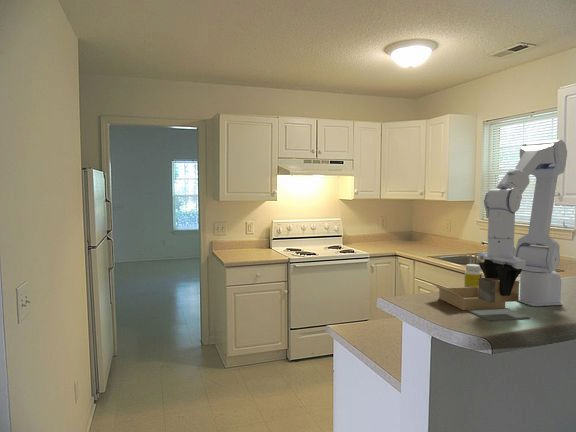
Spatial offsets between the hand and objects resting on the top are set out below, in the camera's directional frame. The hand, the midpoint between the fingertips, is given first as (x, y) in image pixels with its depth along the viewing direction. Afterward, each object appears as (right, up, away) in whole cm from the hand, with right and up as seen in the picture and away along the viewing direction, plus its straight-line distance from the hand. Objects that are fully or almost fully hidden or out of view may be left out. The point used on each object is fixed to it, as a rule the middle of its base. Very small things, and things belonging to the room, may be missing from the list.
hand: (498, 293), depth 101 cm
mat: (0, -5, 0) cm, 5 cm away
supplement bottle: (+4, -4, +23) cm, 24 cm away
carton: (-2, -5, +11) cm, 12 cm away
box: (0, -2, 0) cm, 2 cm away
